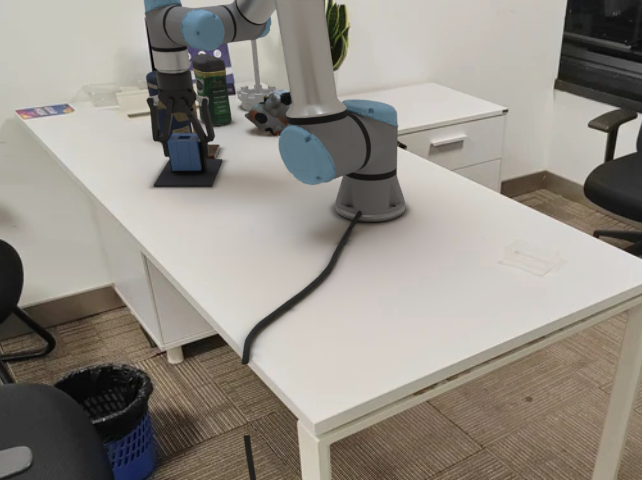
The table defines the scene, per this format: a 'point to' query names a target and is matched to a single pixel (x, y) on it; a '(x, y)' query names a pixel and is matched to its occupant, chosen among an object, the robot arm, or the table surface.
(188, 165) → the block
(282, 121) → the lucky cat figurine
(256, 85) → the flag stand
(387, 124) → the robot arm
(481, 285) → the table surface
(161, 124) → the canister
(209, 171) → the mat
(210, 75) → the coffee jar
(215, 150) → the stand
